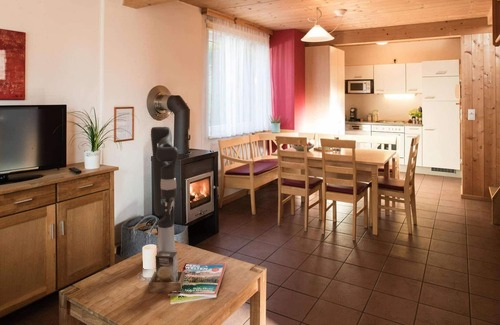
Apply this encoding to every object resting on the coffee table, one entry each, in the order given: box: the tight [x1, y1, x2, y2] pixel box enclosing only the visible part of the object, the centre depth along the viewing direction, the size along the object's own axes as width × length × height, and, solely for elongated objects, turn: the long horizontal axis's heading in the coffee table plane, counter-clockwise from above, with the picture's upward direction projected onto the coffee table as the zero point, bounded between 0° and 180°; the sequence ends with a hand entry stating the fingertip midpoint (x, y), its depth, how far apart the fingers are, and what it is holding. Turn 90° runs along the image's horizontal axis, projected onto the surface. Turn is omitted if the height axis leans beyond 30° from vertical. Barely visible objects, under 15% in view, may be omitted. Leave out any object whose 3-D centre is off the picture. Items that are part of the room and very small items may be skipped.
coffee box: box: [155, 251, 179, 282], centre depth 179 cm, size 9×6×16 cm
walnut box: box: [148, 270, 186, 294], centre depth 180 cm, size 15×12×5 cm
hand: (169, 218), depth 185 cm, fingers open, 8 cm apart
